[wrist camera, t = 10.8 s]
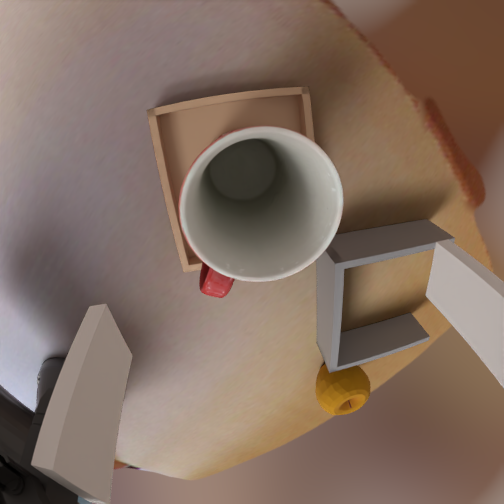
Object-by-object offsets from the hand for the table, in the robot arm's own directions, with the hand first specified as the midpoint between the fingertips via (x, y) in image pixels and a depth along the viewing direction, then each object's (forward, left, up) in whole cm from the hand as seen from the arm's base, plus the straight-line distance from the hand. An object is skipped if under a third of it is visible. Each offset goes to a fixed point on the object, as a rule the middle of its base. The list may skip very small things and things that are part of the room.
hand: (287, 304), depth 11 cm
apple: (+11, -31, -21) cm, 39 cm away
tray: (0, 0, -21) cm, 21 cm away
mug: (-1, 0, -20) cm, 20 cm away
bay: (+16, -16, -21) cm, 31 cm away
